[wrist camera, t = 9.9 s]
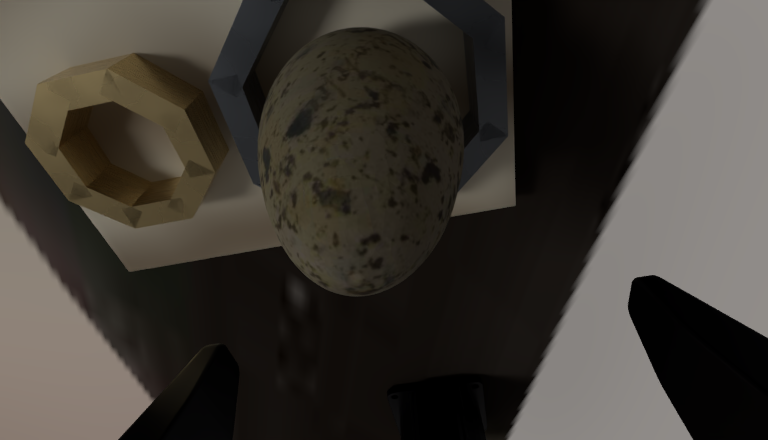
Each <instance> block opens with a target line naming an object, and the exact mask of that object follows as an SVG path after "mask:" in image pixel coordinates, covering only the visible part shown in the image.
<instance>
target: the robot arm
mask: <svg viewBox="0 0 768 440" xmlns="http://www.w3.org/2000/svg"><path fill="white" fill-rule="evenodd" d="M628 310H629V314H630V317H631V319H632V321H633V324H634V326H635V328H636V330H637V333H638V335H639V337H640V339H641V342H642V344H643V346H644V348H645V350H646V353H647V355H648V357H649V359H650V362H651V364H652V366H653V368H654V371H655V373H656V375H657V377H658V379H659V381H660V383H661V385H662V387H663V389H664V390H665V392H666V394H667V396H668V397H669V399H670V401H671V403H672V404H673V406H674V408H675V409H676V411H677V413H678V415H679V416H680V418H681V420H682V421H683V423H684V424H685V426H686V428H687V430H688V432H689V433H690V435H691V437H692V438H693V440H768V338H767V337H765V336H763V335H761V334H760V333H758V332H756V331H754V330H752V329H751V328H749V327H747V326H745V325H744V324H742V323H740V322H738V321H736V320H735V319H733V318H731V317H729V316H728V315H726V314H724V313H722V312H720V311H719V310H717V309H715V308H713V307H712V306H710V305H708V304H706V303H705V302H703V301H701V300H699V299H698V298H696V297H694V296H692V295H690V294H689V293H687V292H685V291H683V290H681V289H680V288H678V287H676V286H674V285H673V284H671V283H669V282H667V281H665V280H664V279H662V278H660V277H658V276H655V275H650V276H644V277H637V278H635V279H634V280H633V281H632V285H631V291H630V296H629V302H628ZM238 383H239V367H238V364H237V362H236V361H235V359H234V358H233V356H232V355H231V353H230V352H229V350H228V348H227V347H226V346H225V345H224V344H222V343H219V344H213V345H207V346H205V347H203V348H202V349H201V350H200V351H199V352H198V354H197V355H196V356H195V357H194V358H193V359H192V360H191V361H190V362H189V363H188V364H187V366H186V367H185V368H184V369H183V370H182V371H181V372H180V373H179V374H178V375H177V376H176V377H175V379H174V380H173V381H172V382H171V383H170V384H169V385H168V386H167V387H166V388H165V389H164V390H163V392H162V393H161V394H160V395H159V396H158V397H157V398H156V399H155V400H154V401H153V402H152V404H151V405H150V406H149V407H148V408H147V409H146V410H145V411H144V412H143V413H142V414H141V415H140V417H139V418H138V419H137V420H136V421H135V422H134V423H133V424H132V425H131V426H130V427H129V429H128V430H127V431H126V432H125V433H124V434H123V435H122V436H121V437H120V438H119V439H118V440H232V438H233V430H234V421H235V412H236V402H237V393H238ZM387 395H388V401H389V404H390V407H391V409H392V412H393V415H394V418H395V421H396V424H397V427H398V430H399V433H400V436H401V440H486V436H485V432H484V431H485V430H486V429H487V420H486V411H485V401H484V392H483V384H482V380H481V378H479V377H469V378H462V379H454V380H447V381H439V382H432V383H424V384H417V385H409V386H402V387H394V388H390V389H389V390H388V391H387Z"/></svg>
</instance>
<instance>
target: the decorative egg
mask: <svg viewBox="0 0 768 440" xmlns="http://www.w3.org/2000/svg"><path fill="white" fill-rule="evenodd" d="M463 159H464V132H463V125H462V119H461V114H460V110H459V106H458V103H457V100H456V97H455V95H454V92H453V90H452V87H451V86H450V84H449V82H448V80H447V78H446V76H445V75H444V73H443V72H442V70H441V69H440V68H439V66H438V65H437V64H436V62H435V61H434V60H433V59H432V58H431V57H430V56H429V55H428V54H427V53H426V52H425V51H423V50H422V49H421V48H420V47H418V46H417V45H416V44H414V43H413V42H411V41H409V40H408V39H406V38H404V37H402V36H400V35H398V34H395V33H392V32H389V31H386V30H382V29H377V28H370V27H352V28H345V29H340V30H336V31H333V32H330V33H327V34H325V35H322V36H320V37H318V38H317V39H315V40H313V41H311V42H310V43H308V44H307V45H305V46H304V47H302V48H301V49H300V50H299V51H298V52H297V53H296V54H295V55H294V56H293V57H292V58H291V59H290V60H289V61H288V62H287V63H286V65H285V66H284V67H283V69H282V70H281V71H280V73H279V74H278V76H277V78H276V79H275V81H274V83H273V85H272V87H271V89H270V91H269V93H268V96H267V98H266V101H265V104H264V107H263V111H262V116H261V121H260V126H259V134H258V168H259V177H260V183H261V188H262V193H263V197H264V202H265V206H266V209H267V212H268V215H269V218H270V221H271V223H272V226H273V229H274V231H275V233H276V235H277V237H278V239H279V241H280V243H281V245H282V246H283V248H284V250H285V251H286V253H287V254H288V256H289V257H290V259H291V260H292V261H293V262H294V264H295V265H296V266H297V267H298V268H299V269H300V270H301V271H302V272H303V273H304V274H305V275H306V276H307V277H308V278H309V279H311V280H312V281H313V282H315V283H316V284H318V285H319V286H321V287H323V288H325V289H327V290H329V291H332V292H334V293H338V294H341V295H347V296H368V295H373V294H377V293H380V292H382V291H385V290H387V289H390V288H392V287H393V286H395V285H397V284H399V283H400V282H402V281H403V280H405V279H406V278H407V277H408V276H410V275H411V274H412V273H413V272H414V271H415V270H416V269H417V268H418V267H419V266H420V265H421V264H422V263H423V262H424V261H425V260H426V258H427V257H428V256H429V255H430V253H431V252H432V250H433V249H434V247H435V246H436V244H437V243H438V241H439V240H440V238H441V236H442V234H443V232H444V230H445V228H446V226H447V224H448V221H449V219H450V217H451V214H452V211H453V208H454V204H455V201H456V197H457V193H458V189H459V185H460V181H461V175H462V169H463Z"/></svg>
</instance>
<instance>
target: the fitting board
mask: <svg viewBox="0 0 768 440" xmlns="http://www.w3.org/2000/svg"><path fill="white" fill-rule="evenodd" d="M242 1H243V0H0V99H1V100H2V102H3V103H4V104H5V106H6V107H7V108H8V110H9V111H10V112H11V114H12V115H13V116H14V118H15V119H16V120H17V122H18V123H19V124H20V126H21V127H22V128H23V130H24V131H25V132H26V134H27V131H28V126H29V122H30V117H31V112H32V107H33V102H34V97H35V92H36V87H37V84H38V83H40V82H42V81H44V80H46V79H48V78H50V77H52V76H54V75H56V74H58V73H60V72H62V71H64V70H66V69H68V68H70V67H74V66H78V65H82V64H87V63H91V62H96V61H100V60H105V59H109V58H114V57H118V56H123V55H127V54H131V53H136V54H137V55H139V56H141V57H143V58H144V59H146V60H148V61H150V62H152V63H153V64H155V65H157V66H159V67H161V68H162V69H164V70H166V71H168V72H170V73H171V74H173V75H175V76H177V77H179V78H180V79H182V80H184V81H186V82H188V83H189V84H191V85H193V86H195V87H196V88H198V89H200V90H202V91H203V93H204V95H205V97H206V100H207V102H208V104H209V106H210V108H211V111H212V113H213V115H214V117H215V119H216V122H217V124H218V126H219V128H220V130H221V133H222V135H223V137H224V139H225V141H226V144H227V146H228V148H229V151H228V153H227V155H226V157H225V159H224V161H223V163H222V165H221V167H220V169H219V171H218V173H217V175H216V177H215V179H214V181H213V183H212V185H211V187H210V189H209V191H208V193H207V195H206V197H205V198H204V200H203V202H202V203H201V205H200V207H199V208H198V210H197V212H196V213H195V215H194V217H193V218H191V219H186V220H180V221H175V222H169V223H164V224H158V225H153V226H147V227H142V228H136V229H135V228H132V227H130V226H128V225H125V224H123V223H120V222H118V221H116V220H113V219H111V218H109V217H106V216H104V215H101V214H99V213H97V212H94V211H92V210H90V209H87V208H85V207H82V206H81V208H82V209H83V210H84V212H85V213H86V214H87V216H88V217H89V218H90V220H91V221H92V222H93V224H94V225H95V226H96V228H97V229H98V230H99V232H100V233H101V235H102V236H103V237H104V239H105V240H106V241H107V243H108V244H109V245H110V247H111V248H112V249H113V251H114V252H115V253H116V255H117V256H118V257H119V259H120V260H121V261H122V263H123V264H124V265H125V267H126V268H127V269H128V271H129V272H131V271H137V270H143V269H149V268H154V267H160V266H166V265H172V264H178V263H184V262H190V261H195V260H201V259H207V258H213V257H219V256H225V255H230V254H236V253H242V252H248V251H254V250H260V249H265V248H271V247H277V246H282V245H281V243H280V241H279V239H278V237H277V235H276V233H275V231H274V229H273V226H272V223H271V221H270V218H269V215H268V212H267V209H266V206H265V202H264V197H263V193H262V188H261V187H259V186H257V185H255V184H253V182H252V180H251V177H250V175H249V173H248V171H247V168H246V166H245V164H244V161H243V159H242V157H241V155H240V152H239V150H238V148H237V146H236V143H235V141H234V139H233V136H232V134H231V132H230V130H229V127H228V125H227V123H226V121H225V118H224V116H223V114H222V111H221V109H220V107H219V105H218V102H217V100H216V98H215V96H214V93H213V91H212V89H211V87H210V84H209V82H208V80H209V78H210V76H211V73H212V71H213V69H214V66H215V64H216V62H217V59H218V57H219V55H220V52H221V50H222V48H223V45H224V43H225V41H226V38H227V36H228V34H229V31H230V29H231V27H232V24H233V22H234V20H235V17H236V15H237V13H238V10H239V8H240V6H241V3H242ZM484 1H485V2H486V3H488V4H489V5H490V6H491V7H493V8H494V9H495V10H496V11H498V12H499V13H500V14H501V15H503V16H504V17H505V41H506V76H507V111H508V137H507V138H506V139H505V140H504V141H503V143H502V144H501V145H500V146H499V147H498V148H497V149H496V150H495V151H494V153H493V154H492V155H491V156H490V157H489V158H488V159H487V160H486V161H485V163H484V164H483V165H482V166H481V167H480V168H479V169H478V170H477V172H476V173H475V174H474V175H473V176H472V177H471V178H470V179H469V180H468V182H467V183H466V184H465V185H464V186H463V187H462V188H461V189H460V190H459V192H458V193H457V197H456V201H455V204H454V208H453V211H452V214H451V217H452V216H458V215H464V214H470V213H475V212H481V211H487V210H493V209H499V208H505V207H511V206H516V200H515V150H514V100H513V50H512V0H484ZM352 27H370V28H377V29H382V30H386V31H389V32H392V33H395V34H398V35H400V36H402V37H404V38H406V39H408V40H409V41H411V42H413V43H414V44H416V45H417V46H418V47H420V48H421V49H422V50H423V51H425V52H426V53H427V54H428V55H429V56H430V57H431V58H432V59H433V60H434V61H435V62H436V64H437V65H438V66H439V68H440V69H441V70H442V72H443V73H444V75H445V76H446V78H447V80H448V82H449V84H450V86H451V87H452V90H453V92H454V95H455V97H456V100H457V103H458V106H459V110H460V114H461V119H462V120H463V118H464V117H465V116H466V115H467V113H468V112H469V111H470V109H469V97H468V85H467V73H466V61H465V49H464V37H463V31H462V30H461V29H460V28H458V27H457V26H456V25H455V24H453V23H452V22H451V21H449V20H448V19H447V18H446V17H444V16H443V15H442V14H440V13H439V12H438V11H436V10H435V9H434V8H433V7H431V6H430V5H429V4H427V3H426V2H425V1H423V0H289V1H288V3H287V5H286V7H285V9H284V11H283V14H282V16H281V18H280V20H279V22H278V24H277V26H276V28H275V30H274V32H273V34H272V36H271V38H270V40H269V42H268V44H267V46H266V49H265V51H264V53H263V55H262V57H261V59H260V61H259V63H258V65H257V67H256V69H255V71H256V74H257V77H258V79H259V82H260V85H261V88H262V90H263V93H264V96H265V98H267V96H268V93H269V91H270V89H271V87H272V85H273V83H274V81H275V79H276V78H277V76H278V74H279V73H280V71H281V70H282V69H283V67H284V66H285V65H286V63H287V62H288V61H289V60H290V59H291V58H292V57H293V56H294V55H295V54H296V53H297V52H298V51H299V50H300V49H301V48H302V47H304V46H305V45H307V44H308V43H310V42H311V41H313V40H315V39H317V38H318V37H320V36H322V35H325V34H327V33H330V32H333V31H336V30H340V29H345V28H352ZM87 127H88V128H89V130H90V131H91V133H92V134H93V136H94V137H95V139H96V141H97V142H98V144H99V145H100V147H101V148H102V150H103V151H104V153H105V154H106V156H107V158H108V159H109V161H110V162H111V163H112V164H114V165H116V166H118V167H120V168H122V169H125V170H127V171H129V172H131V173H133V174H135V175H137V176H140V177H142V178H144V179H146V180H148V181H150V182H155V181H160V180H165V179H171V178H176V177H181V176H182V174H183V171H184V169H185V167H184V165H183V163H182V161H181V159H180V158H179V156H178V154H177V152H176V150H175V148H174V146H173V145H172V143H171V141H170V139H169V137H168V135H167V133H166V132H165V130H164V128H163V126H161V125H159V124H157V123H155V122H153V121H151V120H149V119H147V118H145V117H143V116H141V115H139V114H137V113H135V112H133V111H131V110H129V109H127V108H125V107H123V106H122V105H120V104H118V103H116V102H114V101H111V102H106V103H102V104H97V105H93V109H92V112H91V116H90V119H89V123H88V126H87Z"/></svg>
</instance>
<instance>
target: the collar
mask: <svg viewBox="0 0 768 440" xmlns="http://www.w3.org/2000/svg"><path fill="white" fill-rule="evenodd" d="M288 1H289V0H243V1H242V3H241V6H240V8H239V10H238V13H237V15H236V17H235V20H234V22H233V24H232V27H231V29H230V31H229V34H228V36H227V38H226V41H225V43H224V45H223V48H222V50H221V52H220V55H219V57H218V59H217V62H216V64H215V66H214V69H213V71H212V73H211V76H210V78H209V80H208V82H209V84H210V87H211V89H212V91H213V93H214V96H215V98H216V100H217V102H218V105H219V107H220V109H221V111H222V114H223V116H224V118H225V121H226V123H227V125H228V127H229V130H230V132H231V134H232V136H233V139H234V141H235V143H236V146H237V148H238V150H239V152H240V155H241V157H242V159H243V161H244V164H245V166H246V168H247V171H248V173H249V175H250V177H251V180H252V182H253V184H255V185H257V186H259V187H261V183H260V177H259V168H258V134H259V126H260V121H261V116H262V111H263V107H264V104H265V101H266V98H265V96H264V93H263V90H262V88H261V85H260V82H259V79H258V77H257V74H256V71H255V69H256V67H257V65H258V63H259V61H260V59H261V57H262V55H263V53H264V51H265V49H266V46H267V44H268V42H269V40H270V38H271V36H272V34H273V32H274V30H275V28H276V26H277V24H278V22H279V20H280V18H281V16H282V14H283V11H284V9H285V7H286V5H287V3H288ZM423 1H425V2H426V3H427V4H429V5H430V6H431V7H433V8H434V9H435V10H436V11H438V12H439V13H440V14H442V15H443V16H444V17H446V18H447V19H448V20H449V21H451V22H452V23H453V24H455V25H456V26H457V27H458V28H460V29H461V30H462V31H463V37H464V49H465V61H466V73H467V85H468V97H469V109H470V111H469V112H468V113H467V115H466V116H465V117H464V118H463V120H462V125H463V132H464V159H463V169H462V175H461V181H460V185H459V189H458V192H459V190H460V189H461V188H462V187H463V186H464V185H465V184H466V183H467V182H468V180H469V179H470V178H471V177H472V176H473V175H474V174H475V173H476V172H477V170H478V169H479V168H480V167H481V166H482V165H483V164H484V163H485V161H486V160H487V159H488V158H489V157H490V156H491V155H492V154H493V153H494V151H495V150H496V149H497V148H498V147H499V146H500V145H501V144H502V143H503V141H504V140H505V139H506V138H507V137H508V111H507V76H506V41H505V17H504V16H503V15H501V14H500V13H499V12H498V11H496V10H495V9H494V8H493V7H491V6H490V5H489V4H488V3H486V2H485V1H484V0H423Z"/></svg>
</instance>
